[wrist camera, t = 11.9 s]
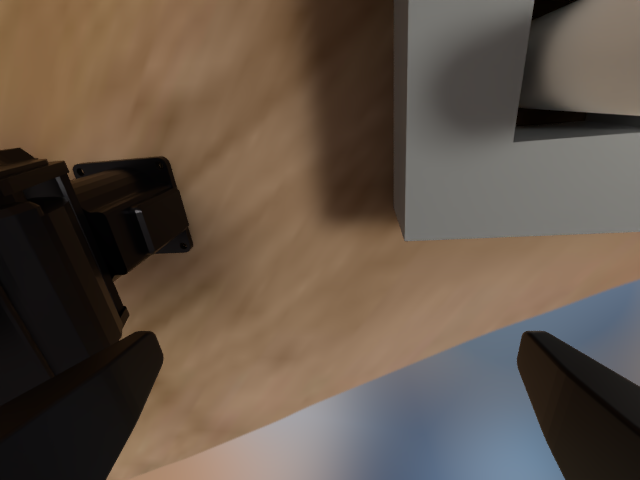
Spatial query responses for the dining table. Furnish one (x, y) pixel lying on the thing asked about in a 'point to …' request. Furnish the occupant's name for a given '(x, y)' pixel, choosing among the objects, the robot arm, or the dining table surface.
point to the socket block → (496, 135)
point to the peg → (584, 59)
